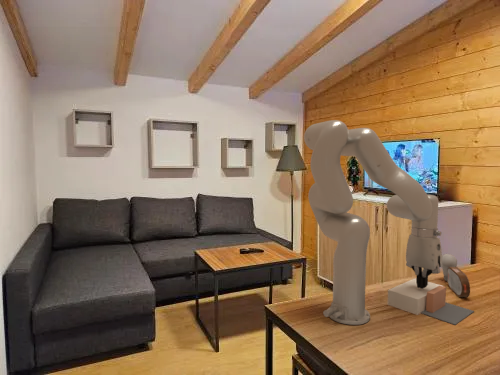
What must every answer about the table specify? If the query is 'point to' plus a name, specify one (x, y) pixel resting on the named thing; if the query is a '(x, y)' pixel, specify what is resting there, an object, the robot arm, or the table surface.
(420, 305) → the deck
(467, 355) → the table surface
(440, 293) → the tile
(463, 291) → the tin
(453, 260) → the lightbulb
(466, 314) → the mat
